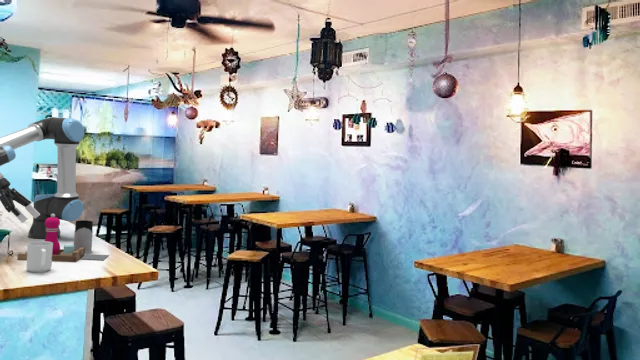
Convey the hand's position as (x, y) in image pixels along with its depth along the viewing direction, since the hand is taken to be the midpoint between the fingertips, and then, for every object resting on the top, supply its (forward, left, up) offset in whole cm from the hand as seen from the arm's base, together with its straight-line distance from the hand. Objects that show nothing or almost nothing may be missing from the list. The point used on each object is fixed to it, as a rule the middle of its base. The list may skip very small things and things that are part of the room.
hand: (31, 218), depth 214 cm
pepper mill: (-1, +8, -18) cm, 20 cm away
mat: (-4, +26, -17) cm, 32 cm away
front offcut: (-1, +1, -18) cm, 18 cm away
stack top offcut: (-1, +16, -15) cm, 21 cm away
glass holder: (-17, +17, -18) cm, 30 cm away
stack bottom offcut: (-1, +16, -18) cm, 24 cm away
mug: (+23, +12, -18) cm, 32 cm away
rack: (-1, +9, -17) cm, 20 cm away
